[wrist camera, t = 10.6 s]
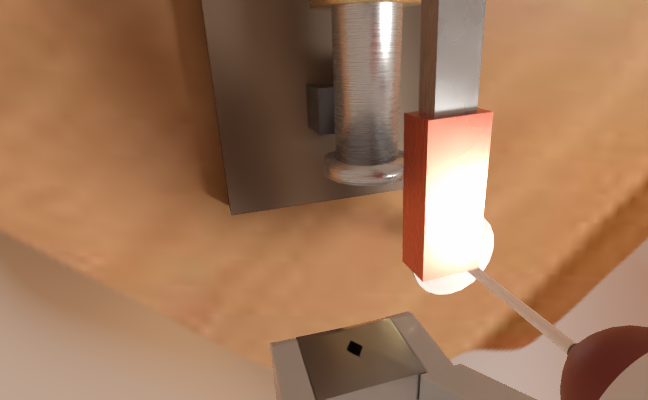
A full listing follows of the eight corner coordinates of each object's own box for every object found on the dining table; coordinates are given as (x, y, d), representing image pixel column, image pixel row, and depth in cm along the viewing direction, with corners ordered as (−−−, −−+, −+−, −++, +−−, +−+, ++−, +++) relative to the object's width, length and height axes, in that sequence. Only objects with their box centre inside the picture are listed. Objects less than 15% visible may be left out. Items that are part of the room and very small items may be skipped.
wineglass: (489, 189, 30) (905, 389, 13) (501, 275, 34) (834, 523, 16) (399, 230, 29) (716, 515, 11) (422, 315, 33) (687, 628, 15)
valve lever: (376, -166, 12) (452, -255, 9) (449, -162, 13) (548, -243, 9) (381, 242, 18) (428, 291, 14) (432, 230, 18) (490, 275, 15)
